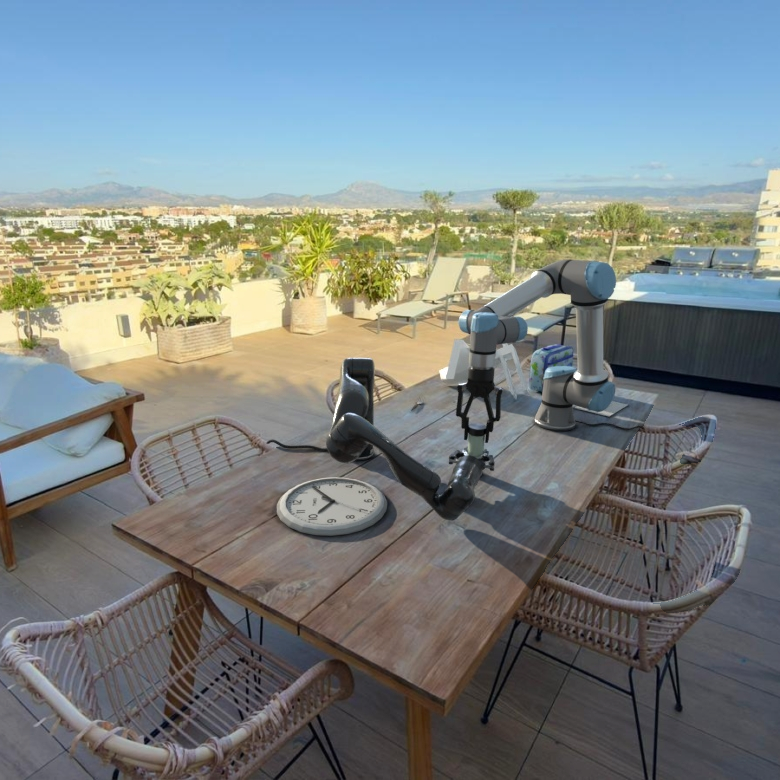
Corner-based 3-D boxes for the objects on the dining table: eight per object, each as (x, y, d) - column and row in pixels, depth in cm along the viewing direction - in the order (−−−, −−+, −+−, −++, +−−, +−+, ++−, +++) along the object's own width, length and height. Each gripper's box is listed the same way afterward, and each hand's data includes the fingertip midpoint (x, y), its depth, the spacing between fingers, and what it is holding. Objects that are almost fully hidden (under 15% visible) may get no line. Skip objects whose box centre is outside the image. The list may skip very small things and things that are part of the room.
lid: (479, 428, 162) (479, 421, 162) (489, 434, 157) (490, 428, 157) (464, 430, 160) (464, 424, 159) (474, 437, 155) (475, 430, 154)
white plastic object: (461, 429, 252) (437, 405, 227) (444, 352, 274) (420, 323, 250) (535, 404, 240) (518, 377, 215) (510, 326, 262) (492, 293, 237)
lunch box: (545, 397, 238) (550, 352, 231) (524, 391, 245) (529, 348, 239) (572, 386, 255) (578, 344, 249) (552, 381, 262) (557, 340, 256)
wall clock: (392, 527, 129) (268, 531, 127) (391, 533, 130) (269, 537, 127) (383, 473, 158) (282, 475, 155) (383, 478, 158) (282, 480, 156)
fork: (408, 411, 216) (408, 407, 215) (419, 400, 230) (419, 396, 229) (414, 412, 215) (414, 407, 214) (425, 401, 229) (425, 396, 229)
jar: (483, 477, 160) (486, 431, 156) (467, 477, 160) (470, 430, 156) (480, 470, 165) (483, 425, 161) (465, 470, 165) (468, 425, 160)
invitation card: (608, 416, 214) (573, 407, 224) (608, 416, 214) (573, 408, 224) (628, 404, 229) (594, 396, 238) (628, 405, 229) (594, 397, 238)
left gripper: (441, 481, 151) (453, 458, 166) (491, 489, 147) (499, 465, 162) (442, 457, 149) (455, 436, 164) (493, 465, 144) (501, 442, 160)
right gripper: (515, 366, 153) (508, 439, 160) (452, 360, 159) (448, 431, 165) (513, 372, 146) (506, 448, 153) (447, 366, 152) (443, 440, 159)
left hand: (476, 450), depth 163 cm, fingers closed on jar, 5 cm apart
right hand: (476, 439), depth 159 cm, fingers open, 6 cm apart
